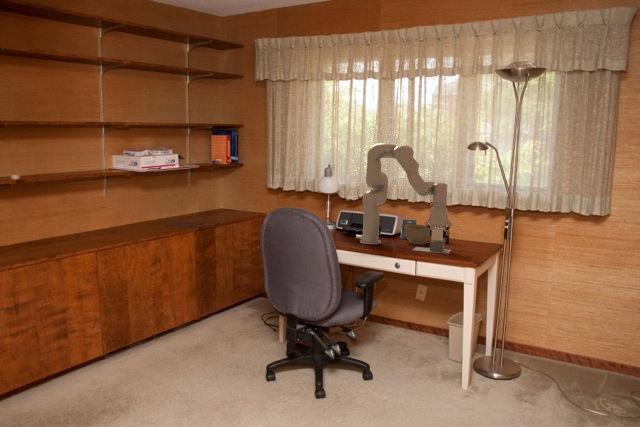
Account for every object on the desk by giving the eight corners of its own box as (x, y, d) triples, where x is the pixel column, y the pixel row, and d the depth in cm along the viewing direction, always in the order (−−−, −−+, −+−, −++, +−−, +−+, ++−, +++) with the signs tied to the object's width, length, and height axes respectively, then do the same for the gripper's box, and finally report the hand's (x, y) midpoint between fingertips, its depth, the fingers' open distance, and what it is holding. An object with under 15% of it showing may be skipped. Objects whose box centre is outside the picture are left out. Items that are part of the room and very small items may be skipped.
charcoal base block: (429, 251, 313) (430, 242, 313) (431, 248, 320) (432, 240, 319) (442, 252, 311) (443, 243, 310) (444, 249, 318) (444, 241, 317)
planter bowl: (398, 243, 338) (398, 225, 336) (415, 241, 348) (416, 223, 347) (418, 248, 326) (419, 229, 324) (436, 245, 336) (437, 227, 335)
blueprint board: (411, 252, 314) (411, 250, 314) (415, 248, 325) (415, 246, 325) (448, 255, 308) (448, 253, 307) (450, 251, 319) (451, 249, 319)
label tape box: (414, 238, 359) (415, 219, 357) (415, 239, 355) (416, 219, 353) (400, 237, 358) (401, 218, 357) (401, 239, 354) (402, 219, 353)
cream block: (431, 239, 313) (431, 228, 312) (432, 237, 318) (433, 227, 317) (442, 240, 311) (442, 229, 310) (443, 238, 316) (444, 228, 316)
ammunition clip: (431, 242, 344) (432, 223, 342) (431, 242, 346) (432, 223, 344) (449, 244, 341) (450, 224, 339) (449, 243, 343) (450, 224, 341)
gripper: (422, 205, 311) (421, 237, 314) (454, 207, 306) (452, 239, 308) (424, 203, 318) (423, 235, 321) (456, 205, 313) (454, 237, 315)
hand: (437, 237), depth 314 cm, fingers closed on cream block, 6 cm apart
